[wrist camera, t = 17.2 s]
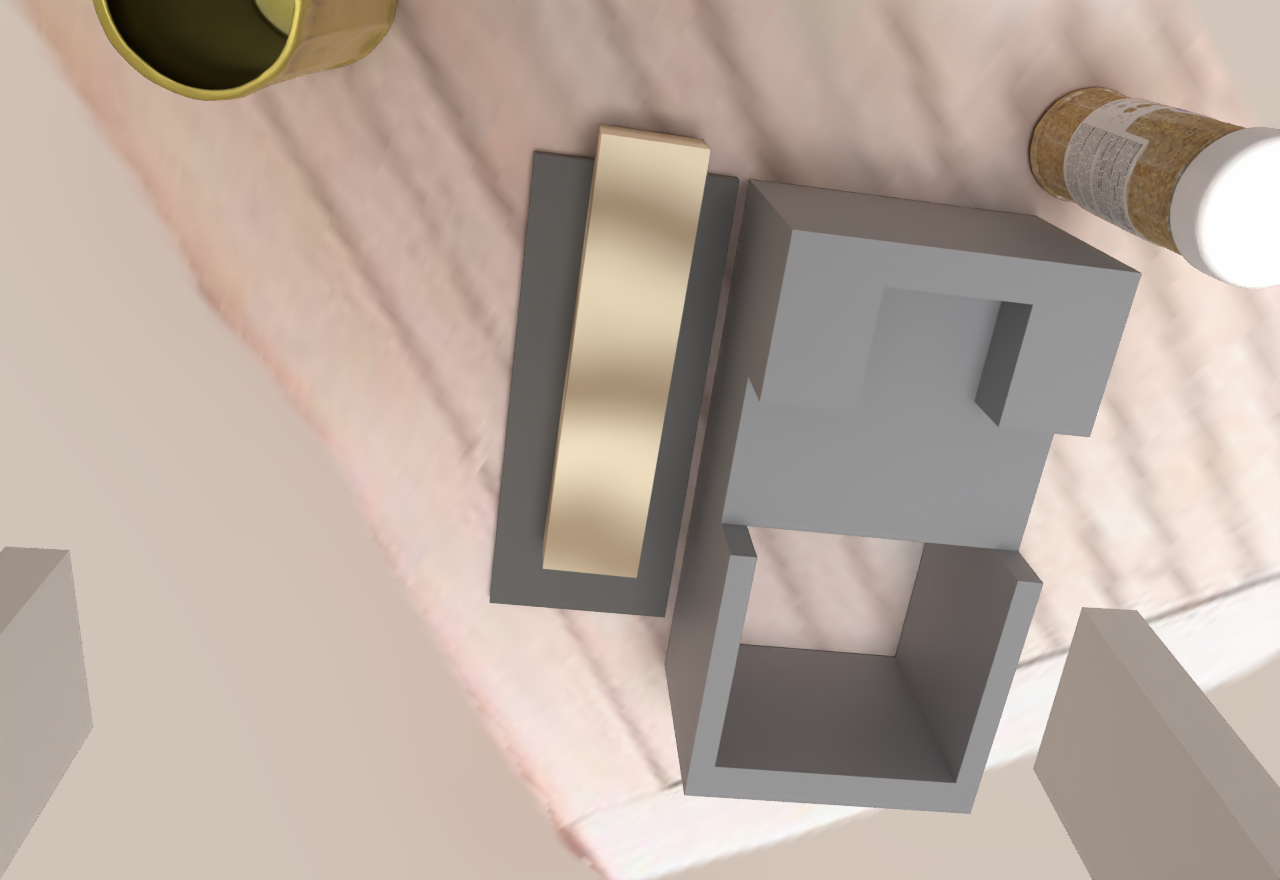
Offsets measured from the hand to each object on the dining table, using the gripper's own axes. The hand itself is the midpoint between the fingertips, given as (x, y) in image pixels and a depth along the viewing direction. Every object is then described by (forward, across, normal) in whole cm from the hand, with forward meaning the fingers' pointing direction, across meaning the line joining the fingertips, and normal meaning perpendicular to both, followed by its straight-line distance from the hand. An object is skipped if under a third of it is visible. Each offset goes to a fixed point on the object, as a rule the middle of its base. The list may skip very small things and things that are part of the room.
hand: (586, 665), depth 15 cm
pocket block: (+32, +12, -12) cm, 36 cm away
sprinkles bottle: (+33, +20, +3) cm, 38 cm away
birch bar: (+31, +2, -7) cm, 32 cm away
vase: (+32, -10, +6) cm, 34 cm away
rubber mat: (+32, +2, -10) cm, 33 cm away
